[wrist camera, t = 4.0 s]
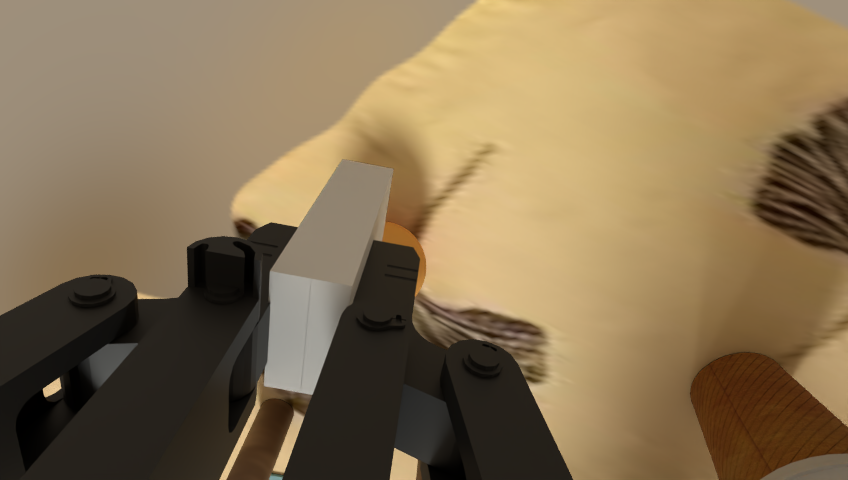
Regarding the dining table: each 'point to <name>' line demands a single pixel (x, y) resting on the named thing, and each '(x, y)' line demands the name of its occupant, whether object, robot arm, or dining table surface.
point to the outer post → (263, 442)
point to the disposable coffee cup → (766, 423)
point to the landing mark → (275, 477)
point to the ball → (406, 238)
